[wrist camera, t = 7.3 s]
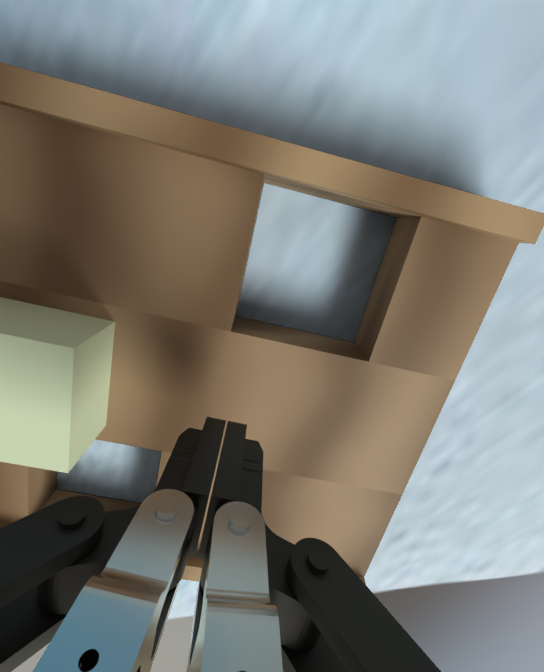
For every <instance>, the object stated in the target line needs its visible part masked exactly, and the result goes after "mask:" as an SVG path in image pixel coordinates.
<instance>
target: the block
mask: <svg viewBox="0 0 544 672" xmlns="http://www.w3.org/2000/svg"><path fill="white" fill-rule="evenodd" d="M114 330H115V322H114V321H110V320H105V319H100V318H96V317H91V316H86V315H82V314H77V313H72V312H68V311H63V310H58V309H54V308H49V307H44V306H40V305H35V304H30V303H26V302H21V301H16V300H12V299H7V298H2V297H0V462H5V463H11V464H17V465H23V466H29V467H35V468H40V469H46V470H52V471H58V472H64V473H69V471H70V470H71V469H72V468H73V466H74V465H75V464H76V463H77V461H78V460H79V459H80V457H81V456H82V455H83V454H84V452H85V451H86V450H87V449H88V447H89V446H90V445H91V444H92V442H93V441H94V440H95V439H96V437H97V436H98V435H99V433H100V432H101V431H102V430H103V428H104V427H105V426H106V420H107V408H108V397H109V386H110V375H111V364H112V352H113V341H114Z"/></svg>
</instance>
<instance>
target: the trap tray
mask: <svg viewBox="0 0 544 672" xmlns="http://www.w3.org/2000/svg"><path fill="white" fill-rule="evenodd" d="M264 183H267V184H271V185H275V186H278V187H282V188H286V189H290V190H294V191H297V192H301V193H305V194H309V195H312V196H316V197H320V198H324V199H328V200H331V201H335V202H339V203H343V204H346V205H350V206H354V207H358V208H362V209H365V210H369V211H373V212H377V213H381V214H384V215H388V216H392V217H396V218H397V219H396V222H395V225H394V228H393V230H392V233H391V236H390V239H389V242H388V245H387V248H386V251H385V254H384V257H383V260H382V263H381V266H380V269H379V272H378V275H377V278H376V280H375V283H374V286H373V289H372V292H371V295H370V298H369V301H368V304H367V307H366V310H365V313H364V316H363V319H362V322H361V325H360V328H359V330H358V333H357V336H356V339H355V342H350V341H345V340H341V339H336V338H332V337H327V336H323V335H318V334H314V333H310V332H305V331H301V330H296V329H292V328H287V327H283V326H278V325H274V324H269V323H265V322H260V321H256V320H251V319H247V318H242V317H238V316H236V313H237V308H238V303H239V299H240V294H241V289H242V285H243V280H244V275H245V270H246V266H247V261H248V256H249V251H250V247H251V242H252V237H253V232H254V228H255V223H256V218H257V213H258V209H259V204H260V199H261V194H262V190H263V185H264ZM543 226H544V213H540V212H537V211H533V210H529V209H526V208H522V207H519V206H515V205H511V204H508V203H504V202H501V201H497V200H493V199H490V198H486V197H483V196H479V195H475V194H472V193H468V192H465V191H461V190H457V189H454V188H450V187H447V186H443V185H439V184H436V183H432V182H429V181H425V180H422V179H418V178H414V177H411V176H407V175H404V174H400V173H396V172H393V171H389V170H386V169H382V168H378V167H375V166H371V165H368V164H364V163H360V162H357V161H353V160H350V159H346V158H342V157H339V156H335V155H332V154H328V153H324V152H321V151H317V150H314V149H310V148H306V147H303V146H299V145H296V144H292V143H289V142H285V141H281V140H278V139H274V138H271V137H267V136H263V135H260V134H256V133H253V132H249V131H245V130H242V129H238V128H235V127H231V126H227V125H224V124H220V123H217V122H213V121H209V120H206V119H202V118H199V117H195V116H191V115H188V114H184V113H181V112H177V111H173V110H170V109H166V108H163V107H159V106H156V105H152V104H148V103H145V102H141V101H138V100H134V99H130V98H127V97H123V96H120V95H116V94H112V93H109V92H105V91H102V90H98V89H94V88H91V87H87V86H84V85H80V84H76V83H73V82H69V81H66V80H62V79H58V78H55V77H51V76H48V75H44V74H40V73H37V72H33V71H30V70H26V69H23V68H19V67H15V66H12V65H8V64H5V63H1V62H0V297H2V298H7V299H12V300H16V301H21V302H26V303H30V304H35V305H40V306H44V307H49V308H54V309H58V310H63V311H68V312H72V313H77V314H82V315H86V316H91V317H96V318H100V319H105V320H110V321H114V322H115V330H114V341H113V352H112V364H111V375H110V386H109V397H108V408H107V420H106V426H105V427H104V428H103V430H102V431H101V432H100V433H99V435H98V436H97V437H96V439H97V440H103V441H108V442H114V443H119V444H125V445H130V446H136V447H141V448H147V449H152V450H158V451H162V453H161V459H160V466H159V472H158V478H157V485H158V482H159V480H160V478H161V476H162V473H163V471H164V469H165V467H166V464H167V462H168V460H169V457H170V456H171V453H172V451H173V448H174V447H175V444H176V442H177V439H178V437H179V435H180V434H181V433H183V432H184V431H185V430H187V429H188V428H194V429H199V430H202V429H203V426H204V423H205V420H206V418H207V417H212V418H217V419H222V420H226V424H225V428H224V433H223V437H222V442H221V446H220V451H219V455H218V460H217V464H216V468H215V473H214V477H213V481H212V486H211V490H210V494H209V499H208V503H207V507H206V512H205V516H204V520H203V524H202V529H201V533H200V537H199V542H198V546H197V550H196V555H195V558H191V557H188V558H187V562H186V566H185V570H184V573H183V576H182V578H181V579H185V580H192V581H200V576H201V571H202V566H203V562H204V559H198V558H197V556H198V552H199V547H200V543H201V539H202V534H203V530H204V525H205V521H206V516H207V512H208V507H209V503H210V498H211V494H212V490H213V485H214V481H215V476H216V472H217V467H218V463H219V458H220V454H221V449H222V445H223V441H224V436H225V432H226V427H227V423H228V421H232V422H237V423H242V424H247V429H246V437H245V439H250V440H255V441H258V442H259V444H260V446H261V448H262V450H263V452H264V453H263V473H262V474H263V480H262V508H261V509H262V516H263V519H264V521H265V523H266V525H267V526H268V527H269V529H270V530H271V531H272V532H274V533H275V534H276V535H278V536H279V537H281V538H283V539H285V540H287V541H289V542H291V543H293V544H296V543H297V542H298V541H299V540H301V539H304V538H317V539H320V540H322V541H324V542H326V543H328V544H329V545H330V546H331V547H333V548H334V549H335V551H336V552H337V553H338V554H339V555H340V556H341V557H342V559H343V560H344V561H345V562H346V563H347V564H348V565H349V567H350V568H351V569H352V570H353V571H354V572H355V573H356V575H357V576H358V577H359V578H360V579H361V580H362V582H363V583H364V584H365V580H364V576H365V574H366V572H367V569H368V567H369V565H370V563H371V561H372V559H373V557H374V554H375V552H376V550H377V548H378V546H379V544H380V541H381V539H382V537H383V535H384V533H385V531H386V528H387V526H388V524H389V522H390V520H391V518H392V515H393V513H394V511H395V509H396V507H397V505H398V502H399V500H400V498H401V496H402V494H403V492H404V490H405V487H406V485H407V483H408V481H409V479H410V477H411V474H412V472H413V470H414V468H415V466H416V464H417V461H418V459H419V457H420V455H421V453H422V451H423V448H424V446H425V444H426V442H427V440H428V438H429V435H430V433H431V431H432V429H433V427H434V425H435V423H436V420H437V418H438V416H439V414H440V412H441V410H442V407H443V405H444V403H445V401H446V399H447V397H448V394H449V392H450V390H451V388H452V386H453V384H454V381H455V379H456V377H457V375H458V373H459V371H460V368H461V366H462V364H463V362H464V360H465V358H466V356H467V353H468V351H469V349H470V347H471V345H472V343H473V340H474V338H475V336H476V334H477V332H478V330H479V327H480V325H481V323H482V321H483V319H484V317H485V314H486V312H487V310H488V308H489V306H490V304H491V301H492V299H493V297H494V295H495V293H496V291H497V288H498V286H499V284H500V282H501V280H502V278H503V276H504V273H505V271H506V269H507V267H508V265H509V263H510V260H511V258H512V256H513V254H514V252H515V250H516V247H517V245H518V243H531V244H535V243H536V241H537V239H538V237H539V235H540V232H541V230H542V228H543ZM157 485H156V487H157ZM74 496H88V497H92V498H95V499H96V500H98V501H99V502H100V503H101V504H102V505H103V507H104V510H105V512H106V511H115V510H124V509H129V508H133V507H135V506H138V505H140V504H142V503H136V502H130V501H124V500H117V499H111V498H105V497H99V496H93V495H87V494H81V493H75V492H69V491H63V490H57V471H52V470H46V469H40V468H35V467H29V466H23V465H17V464H11V463H5V462H0V528H2V527H4V526H6V525H9V524H11V523H13V522H15V521H17V520H19V519H22V518H24V517H26V516H28V515H30V514H32V513H34V512H37V511H39V510H41V509H43V508H45V507H47V506H50V505H52V504H54V503H56V502H58V501H60V500H63V499H65V498H69V497H74ZM365 585H366V584H365Z"/></svg>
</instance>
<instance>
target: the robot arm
mask: <svg viewBox="0 0 544 672" xmlns="http://www.w3.org/2000/svg"><path fill="white" fill-rule="evenodd" d="M225 424H226V420H222V419H217V418H212V417H207V418H206V420H205V423H204V426H203V429H202V430H199V429H194V428H188V429H187V430H185V431H184V432H183V433H181V434H180V435H179V437H178V439H177V442H176V444H175V447H174V448H173V451H172V453H171V456H170V457H169V460H168V462H167V464H166V467H165V469H164V471H163V473H162V476H161V478H160V480H159V482H158V485H157V487H156V489H155V491H154V493H152V494H150V495H149V496H147V497H146V498H145V499H144V501H143V502H142V504H140V505H138V506H135V507H133V508H129V509H124V510H115V511H106V512H105V510H104V507H103V505H102V504H101V503H100V502H99V501H98V500H96V499H95V498H92V497H88V496H74V497H69V498H65V499H63V500H60V501H58V502H56V503H54V504H52V505H50V506H47V507H45V508H43V509H41V510H39V511H37V512H34V513H32V514H30V515H28V516H26V517H24V518H22V519H19V520H17V521H15V522H13V523H11V524H9V525H6V526H4V527H2V528H0V672H11V671H12V670H14V669H15V668H16V667H18V666H19V665H20V664H21V663H23V662H24V661H26V660H27V659H28V658H30V657H31V656H32V655H34V654H35V653H36V652H38V651H39V650H40V649H42V648H43V647H44V646H45V645H47V644H48V643H50V644H49V645H48V647H47V649H46V650H45V652H44V654H43V655H42V657H41V658H40V660H39V662H38V663H37V665H36V667H35V669H34V670H33V672H150V670H151V667H152V664H153V661H154V658H155V655H156V652H157V649H158V646H159V643H160V640H161V637H162V634H163V631H164V628H165V625H166V622H167V619H168V616H169V613H170V610H171V607H172V604H173V601H174V598H175V595H176V592H177V589H178V586H179V582H180V580H181V578H182V576H183V573H184V570H185V566H186V562H187V558H188V557H191V558H195V555H196V550H197V546H198V542H199V537H200V533H201V529H202V524H203V520H204V516H205V512H206V507H207V503H208V499H209V494H210V490H211V486H212V481H213V477H214V473H215V468H216V464H217V460H218V455H219V451H220V446H221V442H222V437H223V433H224V428H225ZM246 429H247V424H242V423H237V422H232V421H228V423H227V427H226V432H225V436H224V441H223V445H222V449H221V454H220V458H219V463H218V467H217V472H216V476H215V481H214V485H213V490H212V494H211V498H210V503H209V507H208V512H207V516H206V521H205V525H204V530H203V534H202V539H201V543H200V547H199V552H198V556H197V558H198V559H204V562H203V566H202V571H201V576H200V581H199V585H198V589H197V596H196V604H195V611H194V619H193V627H192V634H191V641H190V649H189V656H188V665H187V672H441V671H440V670H439V669H438V668H437V667H436V666H435V664H434V663H433V662H432V661H431V660H430V659H429V657H428V656H427V655H426V654H425V653H424V652H423V651H422V649H421V648H420V647H419V646H418V645H417V644H416V642H414V640H413V639H412V638H411V637H410V636H409V634H408V633H407V632H406V631H405V630H404V629H403V628H402V626H401V625H400V624H399V623H398V622H397V621H396V619H395V618H394V617H393V616H392V615H391V614H390V613H389V611H388V610H387V609H386V608H385V607H384V606H383V605H382V603H381V602H380V601H379V600H378V599H377V598H376V597H375V595H374V594H373V593H372V592H371V591H370V590H369V588H368V587H367V586H366V585H365V584H364V583H363V582H362V580H361V579H360V578H359V577H358V576H357V575H356V573H355V572H354V571H353V570H352V569H351V568H350V567H349V565H348V564H347V563H346V562H345V561H344V560H343V559H342V557H341V556H340V555H339V554H338V553H337V552H336V551H335V549H334V548H333V547H331V546H330V545H329V544H328V543H326V542H324V541H322V540H320V539H317V538H304V539H301V540H299V541H298V542H297V543H296V544H293V543H291V542H289V541H287V540H285V539H283V538H281V537H279V536H278V535H276V534H275V533H274V532H272V531H271V530H270V529H269V527H268V526H267V525H266V523H265V521H264V519H263V516H262V509H261V508H262V480H263V474H262V473H263V453H264V452H263V450H262V448H261V446H260V444H259V442H258V441H255V440H250V439H245V437H246Z"/></svg>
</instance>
